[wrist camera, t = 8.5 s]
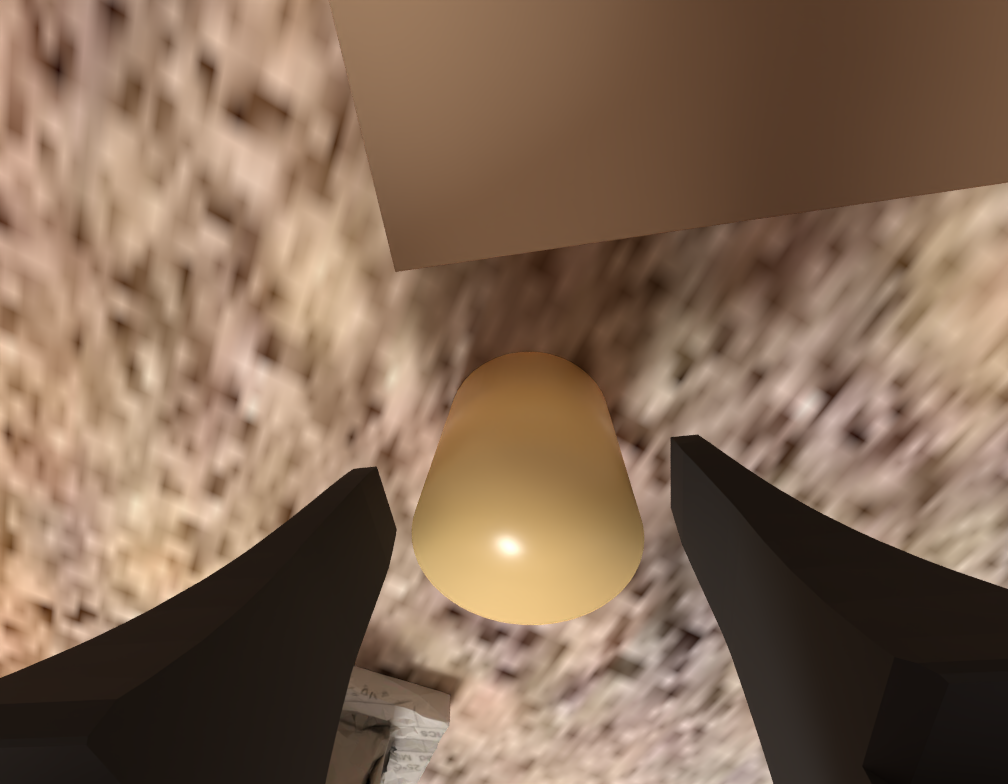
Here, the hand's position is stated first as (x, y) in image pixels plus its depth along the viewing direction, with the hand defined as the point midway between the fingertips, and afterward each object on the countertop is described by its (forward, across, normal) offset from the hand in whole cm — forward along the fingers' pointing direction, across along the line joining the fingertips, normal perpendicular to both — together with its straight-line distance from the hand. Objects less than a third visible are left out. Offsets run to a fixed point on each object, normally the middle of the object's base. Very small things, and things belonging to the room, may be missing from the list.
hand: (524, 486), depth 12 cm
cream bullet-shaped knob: (+3, 0, 0) cm, 3 cm away
